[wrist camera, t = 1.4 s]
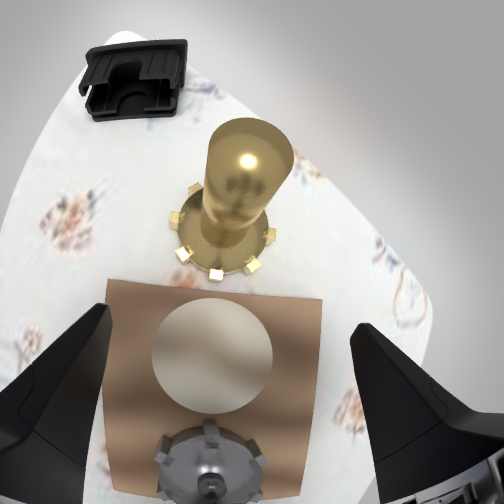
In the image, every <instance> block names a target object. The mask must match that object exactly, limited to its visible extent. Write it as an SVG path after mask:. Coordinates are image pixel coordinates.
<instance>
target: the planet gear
mask: <svg viewBox="0 0 504 504" xmlns="http://www.w3.org/2000/svg"><path fill="white" fill-rule="evenodd" d="M293 162H294V154H293V149H292V146H291V144H290V142H289V140H288V139H287V137H286V136H285V135H284V134H283V133H282V132H281V131H280V130H279V129H278V128H276V127H275V126H273V125H272V124H270V123H268V122H266V121H263V120H260V119H255V118H237V119H233V120H230V121H227V122H226V123H224V124H222V125H221V126H219V127H218V128H217V129H216V130H215V132H214V133H213V135H212V137H211V139H210V142H209V148H208V155H207V164H206V172H205V181H204V188H202V186H201V185H200V184H199V182H197V183H196V184H194V185H193V186H191V187H189V198H188V200H187V201H186V202H185V204H184V205H183V207H182V209H181V211H180V212H176V211H172V214H171V218H170V225H171V229H172V230H178V234H179V239H180V244H181V248H180V249H178V250H177V251H176V253H177V257H178V258H179V259H180V261H181V262H182V264H183V265H185V264H187V263H188V262H189V261H191V262H192V263H193V264H194V265H195V266H197V267H198V268H200V269H202V270H203V271H206V272H209V280H208V281H214V282H220V281H221V280H222V276H223V274H231V273H234V272H237V271H240V270H243V271H244V272H245V274H246V275H248V274H250V273H251V272H253V271H254V270H255V269H257V268H258V267H259V266H261V264H260V263H259V262H258V260H257V259H256V258H257V257H258V256H259V255H260V253H261V252H262V250H263V248H264V246H265V245H267V246H269V245H270V244H271V243H272V242H273V241H275V237H276V229H274V228H269V227H268V220H267V216H266V213H265V211H264V209H265V207H266V206H267V204H268V203H269V201H270V200H271V199H272V197H273V196H274V194H275V193H276V192H277V190H278V189H279V187H280V186H281V185H282V183H283V182H284V180H285V179H286V178H287V176H288V175H289V173H290V172H291V170H292V167H293Z"/></svg>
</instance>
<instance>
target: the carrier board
mask: <svg viewBox="0 0 504 504" xmlns="http://www.w3.org/2000/svg"><path fill="white" fill-rule="evenodd" d="M105 304H108V305H109V307H110V311H111V316H112V320H113V327H112V333H111V338H110V344H109V350H108V357H107V363H106V368H105V372H104V376H103V380H102V393H103V413H104V425H105V436H106V445H107V452H108V459H109V466H110V472H111V478H112V483H113V488H114V490H116V491H121V492H126V493H130V494H136V495H141V496H147V497H154V498H161V497H160V496H159V495H158V494H157V487H158V481H159V478H158V476H159V467H160V463H159V462H157V461H155V460H154V455H155V451H156V447H157V443H158V441H159V440H160V438H161V437H162V436H163V434H164V435H166V436H168V437H170V438H171V437H172V436H174V435H175V434H177V433H178V432H180V431H182V430H184V429H187V428H191V427H195V426H203V419H216V422H217V426H218V427H222V428H225V429H228V430H231V431H233V432H235V433H237V434H238V435H240V436H241V437H242V438H244V439H245V440H246V441H248V440H250V439H252V438H254V440H255V441H256V443H257V444H258V446H259V448H260V450H261V451H262V453H263V455H264V457H265V458H266V460H267V462H268V463H267V464H265V465H263V466H261V470H262V474H263V481H262V485H261V490H262V492H263V494H264V496H263V497H262V498H261V499H260V500H269V499H278V498H286V497H292V496H299V494H300V489H301V484H302V479H303V474H304V468H305V462H306V457H307V451H308V444H309V438H310V431H311V424H312V416H313V408H314V400H315V391H316V382H317V372H318V360H319V348H320V334H321V317H322V299H305V298H289V297H274V296H261V295H248V294H237V293H225V292H215V291H205V290H195V289H186V288H177V287H168V286H160V285H151V284H143V283H136V282H128V281H121V280H114V279H108V281H107V289H106V299H105ZM170 500H171V499H170Z"/></svg>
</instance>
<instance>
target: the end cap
mask: <svg viewBox="0 0 504 504" xmlns="http://www.w3.org/2000/svg"><path fill="white" fill-rule="evenodd" d="M187 46H188V44H187V40H185V39H172V40H171V39H170V40H150V41H137V42H128V43H120V44H112V45H106V46H100V47H95V48H92V49H90V50H89V51H88V52H87V54H86V60H87V64H88V68H87V70H86V72H85V74H84V76H83V78H82V80H81V82H80V84H79V87H78V88H79V93H80V94H81V96H82V97H83V96H86V93H87V91H88V89H89V86H90V85H92V89H91V91H90V94H89V96H88V99H87V101H86V104H85V108H86V109H87V111H88V113H89V114H91V115H93V116H92V117H93V120H94V121H95V122H101V121H110V120H122V119H136V118H160V117H173V116H174V115H175V114H176V109H177V102H178V96H179V89H180V87H183V86H184V81H185V72H186V62H187Z"/></svg>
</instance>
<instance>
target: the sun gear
mask: <svg viewBox="0 0 504 504" xmlns="http://www.w3.org/2000/svg"><path fill="white" fill-rule="evenodd" d="M154 460H155V461H157V462H159V463H160V467H159V476H158V478H159V481H158V487H157V494H158V495H159V496H160V497H161V498H162V499H163V501H166V500H170V499H171V500H173V501H174V502H175V503H177V504H246V503H248V502H249V501H252V502H256V503H257V502H258V501H259V500H260V499H261V498H262V497H263V496H264V494H263V492H262V490H261V485H262V481H263V474H262V470H261V466H263V465H265V464H267V463H268V462H267V460H266V458H265V457H264V455H263V453H262V451H261V450H260V448H259V446H258V444H257V443H256V441H255V440H254V438H252V439H250V440H248V441H246V440H245V439H244V438H242V437H241V436H240V435H238V434H237V433H235V432H233V431H231V430H228V429H225V428H222V427H218V426H217V422H216V419H203V426H195V427H191V428H187V429H184V430H182V431H180V432H178V433H177V434H175V435H174V436H172V437H171V438H170V437H168V436H166V435H164V434H163V436H162V437H161V438H160V440H159V441H158V443H157V447H156V451H155V455H154Z"/></svg>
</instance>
